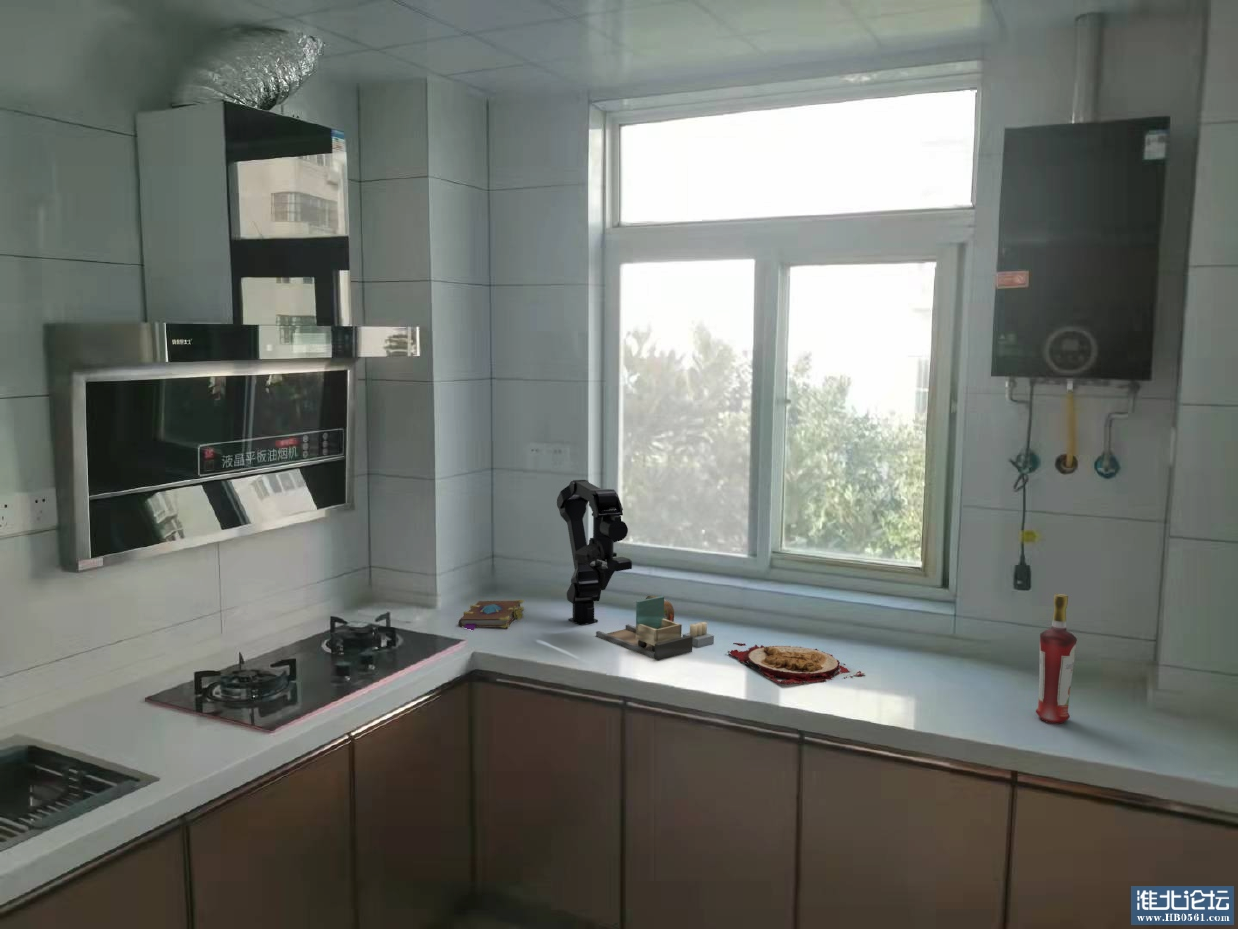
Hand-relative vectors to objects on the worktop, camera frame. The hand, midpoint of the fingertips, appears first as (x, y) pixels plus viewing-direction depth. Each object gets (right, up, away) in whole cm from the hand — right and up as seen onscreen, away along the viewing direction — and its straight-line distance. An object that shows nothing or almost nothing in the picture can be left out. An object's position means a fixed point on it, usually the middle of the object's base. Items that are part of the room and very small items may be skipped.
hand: (602, 589), depth 264 cm
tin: (+16, -12, +11) cm, 23 cm away
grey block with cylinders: (+26, -14, -7) cm, 30 cm away
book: (-33, -12, +15) cm, 38 cm away
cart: (+15, -14, -13) cm, 24 cm away
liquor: (+100, -22, -55) cm, 116 cm away
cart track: (+11, -14, -8) cm, 20 cm away
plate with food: (+50, -17, -21) cm, 56 cm away
